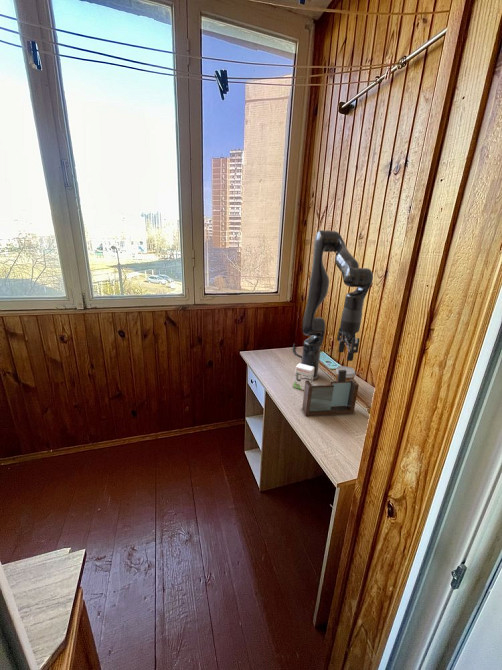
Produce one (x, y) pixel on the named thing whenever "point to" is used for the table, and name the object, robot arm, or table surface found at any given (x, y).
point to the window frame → (326, 400)
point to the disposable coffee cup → (349, 373)
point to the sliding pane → (340, 390)
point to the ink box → (303, 375)
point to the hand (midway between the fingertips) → (345, 356)
